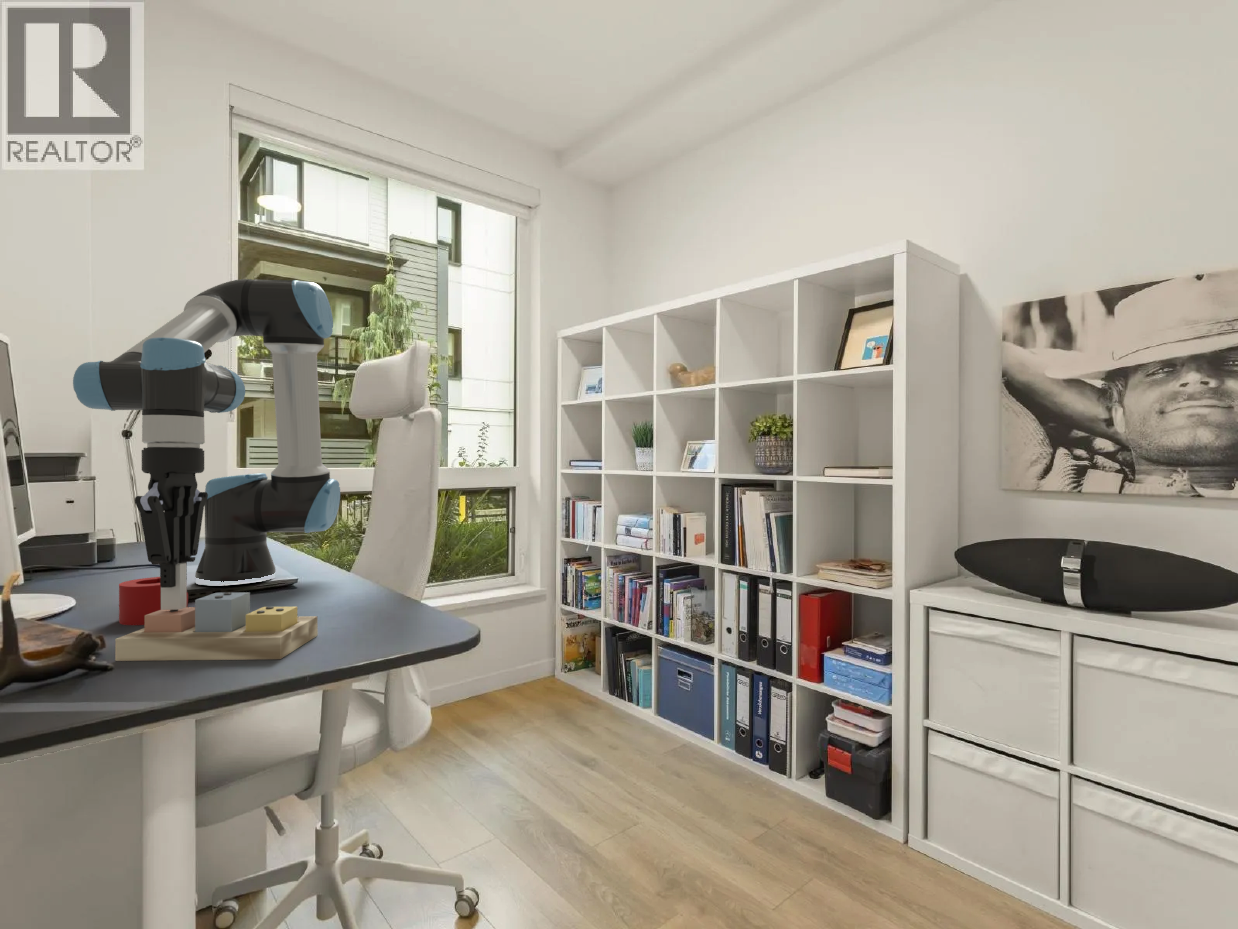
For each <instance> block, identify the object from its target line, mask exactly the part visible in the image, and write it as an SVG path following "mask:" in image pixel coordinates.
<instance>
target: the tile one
mask: <svg viewBox="0 0 1238 929" xmlns="http://www.w3.org/2000/svg"><path fill="white" fill-rule="evenodd" d="M193 627H195V606H194V607H193V606H188V607H186V608H183V609H180V610H159V611H156V612H153V613H150V614H147V615H145V625H144V628H145V633H146V632H183V631H186V630H188V629H190V628H193Z"/></svg>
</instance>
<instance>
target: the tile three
mask: <svg viewBox="0 0 1238 929" xmlns="http://www.w3.org/2000/svg"><path fill="white" fill-rule="evenodd" d="M297 617H298V606H262V607H260V608H258V609H256V610H253V611H250V613H248V614H246V632H265V631H284V630H286V629H288V628H290V627H291V626H293V625H295V624H297Z"/></svg>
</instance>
